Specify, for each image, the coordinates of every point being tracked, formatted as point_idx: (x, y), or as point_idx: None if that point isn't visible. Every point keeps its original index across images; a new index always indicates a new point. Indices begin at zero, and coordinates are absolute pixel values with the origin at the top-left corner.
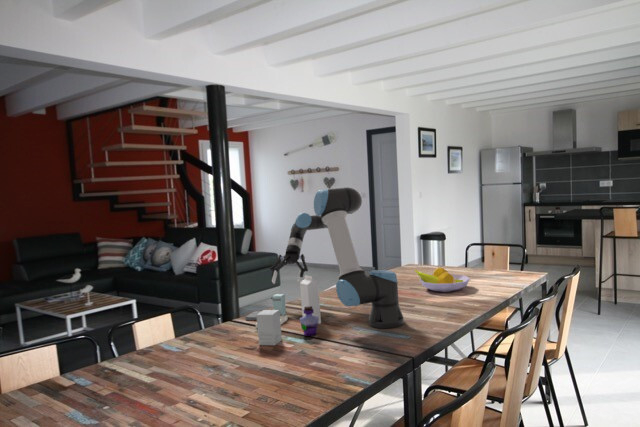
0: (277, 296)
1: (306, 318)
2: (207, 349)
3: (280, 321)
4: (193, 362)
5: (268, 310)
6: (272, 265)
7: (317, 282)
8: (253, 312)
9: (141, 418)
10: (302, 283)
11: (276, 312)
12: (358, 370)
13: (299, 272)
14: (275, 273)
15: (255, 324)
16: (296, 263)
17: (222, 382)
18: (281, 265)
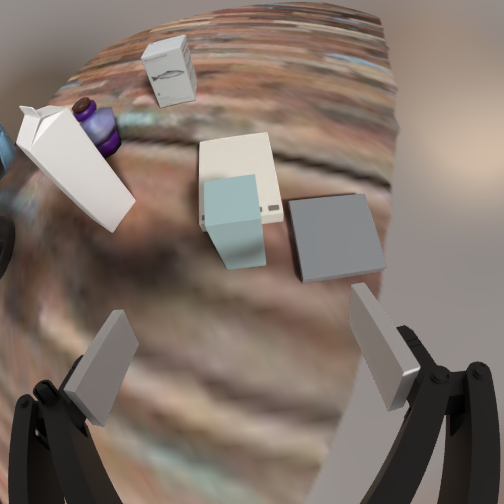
0: (225, 179)
1: (96, 111)
2: (284, 58)
3: (199, 171)
4: (266, 39)
5: (165, 48)
6: (493, 409)
7: (17, 140)
8: (378, 250)
9: (226, 9)
10: (60, 107)
11: (144, 52)
12: (63, 96)
13: (81, 366)
14: (386, 354)
15: (267, 133)
16: (96, 496)
17: (193, 33)
18: (375, 486)
